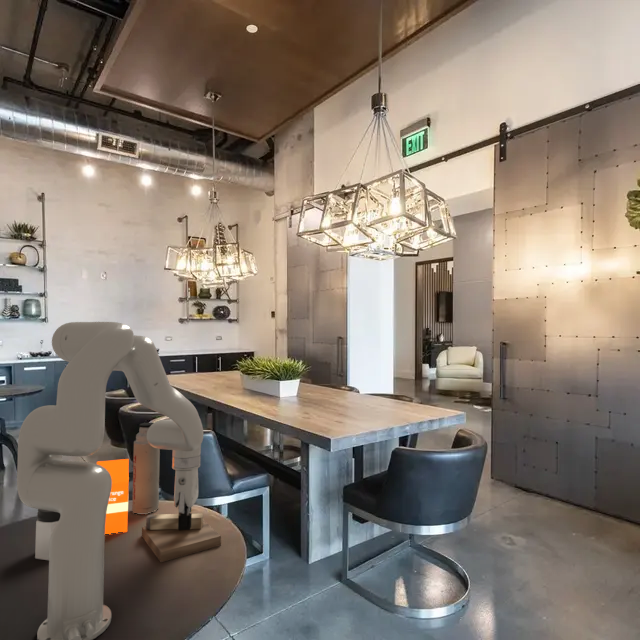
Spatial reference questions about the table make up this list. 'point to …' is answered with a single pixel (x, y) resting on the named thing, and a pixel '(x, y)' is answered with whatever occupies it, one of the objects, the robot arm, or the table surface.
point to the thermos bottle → (145, 473)
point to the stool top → (180, 541)
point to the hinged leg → (171, 521)
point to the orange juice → (117, 495)
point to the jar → (44, 532)
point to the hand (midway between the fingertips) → (184, 528)
